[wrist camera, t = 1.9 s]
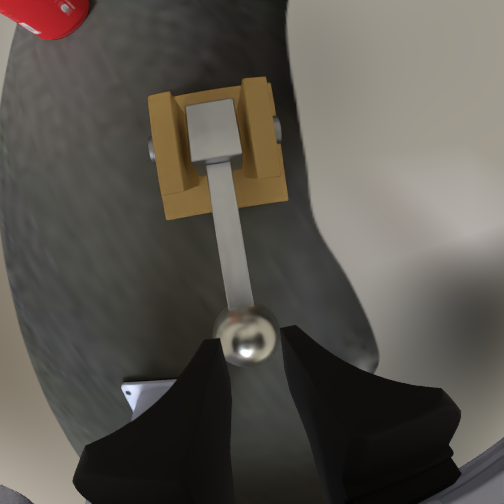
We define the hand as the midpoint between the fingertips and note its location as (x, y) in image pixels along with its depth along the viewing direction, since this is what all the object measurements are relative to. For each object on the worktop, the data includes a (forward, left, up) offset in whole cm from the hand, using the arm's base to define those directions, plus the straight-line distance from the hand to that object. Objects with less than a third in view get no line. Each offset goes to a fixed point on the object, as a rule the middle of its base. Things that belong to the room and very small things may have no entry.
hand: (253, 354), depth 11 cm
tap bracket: (+8, 0, -10) cm, 13 cm away
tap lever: (+4, 0, -5) cm, 6 cm away
